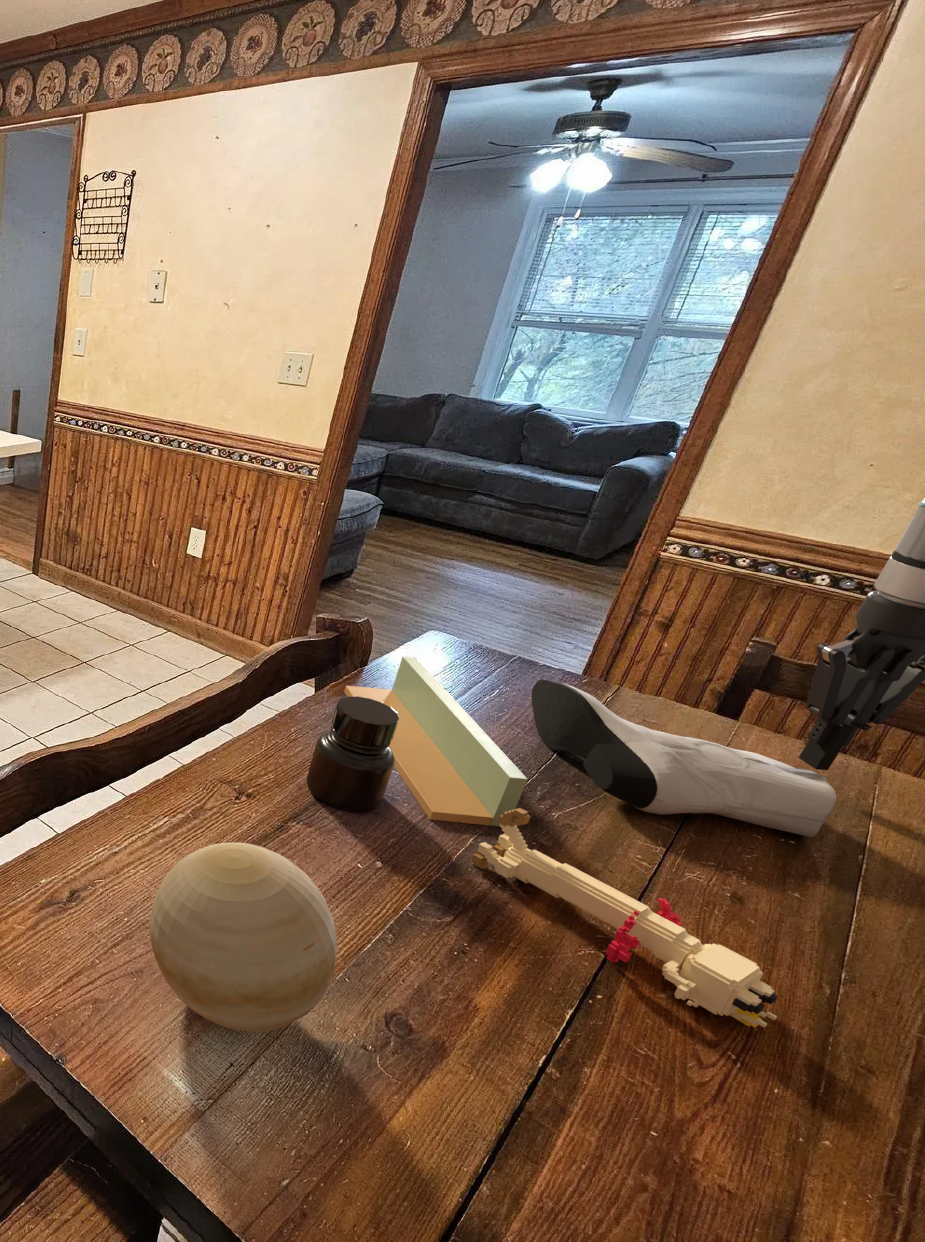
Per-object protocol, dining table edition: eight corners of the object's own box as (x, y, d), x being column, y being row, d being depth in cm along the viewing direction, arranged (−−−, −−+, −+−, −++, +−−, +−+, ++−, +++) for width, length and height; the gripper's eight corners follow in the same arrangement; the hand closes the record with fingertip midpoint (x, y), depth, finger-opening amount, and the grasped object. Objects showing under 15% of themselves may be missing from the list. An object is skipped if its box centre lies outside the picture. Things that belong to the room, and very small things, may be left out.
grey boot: (626, 764, 94) (876, 805, 89) (541, 650, 117) (736, 678, 112) (591, 824, 98) (827, 866, 94) (516, 703, 122) (702, 732, 117)
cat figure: (455, 879, 87) (738, 1052, 67) (474, 812, 84) (777, 971, 64) (510, 856, 92) (792, 1011, 71) (530, 791, 88) (832, 933, 68)
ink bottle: (382, 783, 102) (409, 703, 96) (387, 823, 94) (416, 737, 89) (302, 764, 105) (324, 685, 100) (300, 801, 97) (324, 717, 92)
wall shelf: (403, 697, 123) (416, 657, 120) (507, 827, 95) (528, 779, 92) (343, 692, 124) (355, 652, 121) (429, 819, 95) (447, 771, 92)
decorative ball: (286, 1109, 61) (334, 969, 55) (110, 1009, 69) (134, 875, 62) (331, 982, 72) (375, 854, 66) (175, 908, 80) (202, 786, 73)
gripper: (942, 592, 97) (840, 753, 107) (828, 583, 98) (738, 743, 108) (1008, 617, 90) (892, 786, 101) (885, 606, 91) (783, 775, 102)
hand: (812, 763), depth 104 cm, fingers closed
